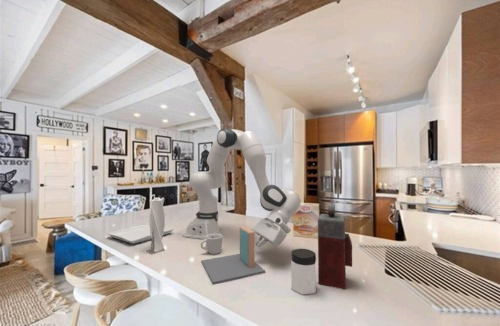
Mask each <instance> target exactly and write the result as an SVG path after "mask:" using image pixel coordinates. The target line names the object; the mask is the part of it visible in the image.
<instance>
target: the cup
mask: <svg viewBox="0 0 500 326" xmlns="http://www.w3.org/2000/svg"><path fill="white" fill-rule="evenodd" d="M223 237H224V236H223V234H221V233H220V234H209V235H207V236H206V239H201V242H200V248H201V249H202V250H205V251H207V253H209V254H211V255H216V254H220V253H221V251H222V246H223ZM204 243H205V244H206V245H205V247H204V246H203V245H204Z"/></svg>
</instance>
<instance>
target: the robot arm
mask: <svg viewBox="0 0 500 326" xmlns="http://www.w3.org/2000/svg"><path fill="white" fill-rule="evenodd" d="M231 150H239V151H240V150H241V153H242V156H243V158H244V160H245V161H246V164H247V165H248V167H249V169H250V171H251V173H252V175H253V177H254V179H255V182H256V183H255V184H256V185H257V188H258V190H259V194H260V199H259V200H260V201H259V203H260V206H261V208H262V209H263V210H265V211H267V212H270V213H269V214H268V215H267V216H266V217H265V218H261V219H260V220H259V221H258V222H257V223H256V224H255V225H254V226H253V229H252V231H253V232H254V234H256V235H257V240H256V241H255V247H257V248H259V249H261V248H262V246H264V245H265V244H267V242H268V243H270V244H272V245H274V246H275V247H279V246H280V245H282V243H283V242H284V241H285V239H286V237H288V234H289V233H290V232H291V228H290V227H289V225H288V223H289V221H290V219H291V217H292V218H293V215H294V214H295V212H296V211H297V210H298V208H299V206H300V204H301V203H302V200H301V198H300V196H299V194H298V193H297V192H296V191H295V190H288V189H283V188H280V187H279V186H277V185H275V184H270V182H269V179H268V176H267V172H266V171H267V170H266V163H267V161H266V160H267V157H266V152H265V149H264V147H263V145H262V142H261V140H260V139H259V138H258V136H257V134H256V133H255V132H254V131H253V130H246V131H242V130H240V129H233V128H230V127H229V128H228V127H227V128H226V127H225V128H221V129H220V130H218V133H217V136H216V138H215V139H214V141H213V143H212V145H211V148H210V150H209V152H208V156H207V158H206V163H207V165H208V166H209V170H208V171H198V172H195V173H192V174H191V176H190V177H189V185H190V187H191V189H193V190H194V191H195V192H196V195H197V197H198V202H199V209H198V210H199V211H197V212H196V213H195V216H196V218H194V219H193V220H192V221H190V223H188V225H187V228H186V230H185V231H184V232H183V233H182V237H184V238H189V239H190V238H192V239H199V240H204V239H206V236H207V235H209V234H221V232H220V228H219V211H218V198H217V196H215V195H214V194H213V191H212V190H214V189H219V188H223V186H225V185H226V182H227V176H226V175H225V173H224V167H225V164H226V162H227V159H228V156H229V154H230V151H231Z"/></svg>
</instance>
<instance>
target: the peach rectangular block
mask: <svg viewBox="0 0 500 326" xmlns="http://www.w3.org/2000/svg"><path fill="white" fill-rule="evenodd" d="M255 238H256V237H255V232H254V231H253V229H252V230H251V229H250V228H249V227H247V226H245V225H244V226H240V227H239V254H240V259H241V260H242V261H243V262H244V263H245V264H246V265H247V266H248V267H249V268H250V267H255V262H256V261H255V257H256V256H255V255H256V254H255V253H256V252H255V247H256V245H255V243H256V241H255V240H256V239H255Z"/></svg>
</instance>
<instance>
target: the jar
mask: <svg viewBox="0 0 500 326" xmlns="http://www.w3.org/2000/svg"><path fill="white" fill-rule="evenodd" d="M316 261H317V257H316V253H315V251H313V250H311V249H307V248H295V249H293V250H291V262H290V265H291V266H290V267H291V268H290V269H291V270H290V272H291V273H290V274H291V275H290V277H291V283H290V284H291V285H290V286H291V290H293V292H294V291H295V292H297V293H298V294H301V295H303V296H304V295H311V294H315V293H317V292H316V290H317V289H316V283H317V282H316V278H317V276H316Z"/></svg>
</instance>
